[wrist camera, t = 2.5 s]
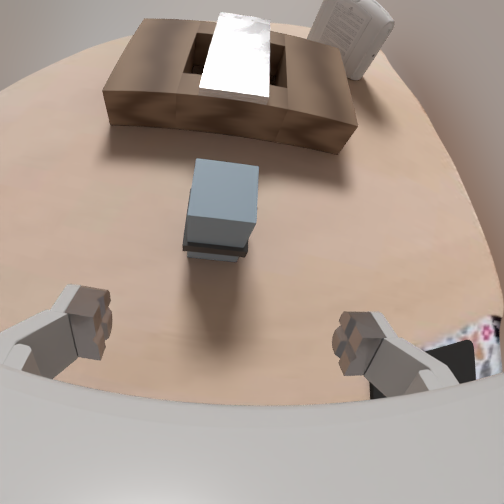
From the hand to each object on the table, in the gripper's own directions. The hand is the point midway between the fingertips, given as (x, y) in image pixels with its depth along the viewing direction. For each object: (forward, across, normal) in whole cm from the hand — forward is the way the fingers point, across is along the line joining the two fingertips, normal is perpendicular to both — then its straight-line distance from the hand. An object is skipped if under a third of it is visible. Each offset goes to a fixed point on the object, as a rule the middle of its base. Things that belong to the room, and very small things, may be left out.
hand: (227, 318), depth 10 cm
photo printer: (+37, -14, -17) cm, 43 cm away
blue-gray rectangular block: (+16, 0, +4) cm, 16 cm away
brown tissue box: (+28, 0, -9) cm, 30 cm away
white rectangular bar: (+28, 0, -11) cm, 29 cm away
